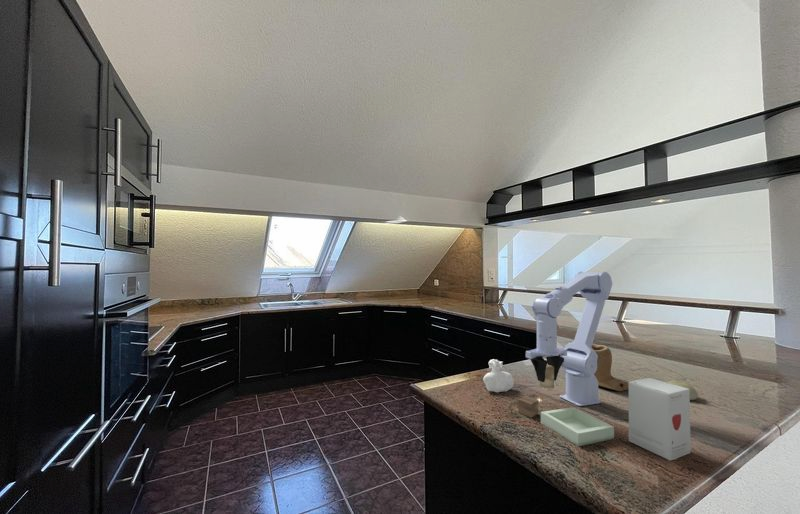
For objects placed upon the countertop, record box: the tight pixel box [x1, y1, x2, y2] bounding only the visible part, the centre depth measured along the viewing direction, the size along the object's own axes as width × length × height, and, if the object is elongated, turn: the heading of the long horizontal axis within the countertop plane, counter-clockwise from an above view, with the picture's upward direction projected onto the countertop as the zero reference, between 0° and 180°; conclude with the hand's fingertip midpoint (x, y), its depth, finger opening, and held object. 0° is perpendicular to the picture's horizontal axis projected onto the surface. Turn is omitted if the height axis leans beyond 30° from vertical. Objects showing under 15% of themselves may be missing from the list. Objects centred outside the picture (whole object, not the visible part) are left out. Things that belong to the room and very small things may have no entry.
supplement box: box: [628, 377, 692, 461], centre depth 75 cm, size 9×9×15 cm
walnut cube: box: [517, 395, 539, 419], centre depth 91 cm, size 4×4×4 cm
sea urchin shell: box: [665, 380, 699, 401], centre depth 107 cm, size 9×8×8 cm
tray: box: [540, 406, 615, 447], centre depth 82 cm, size 12×12×3 cm
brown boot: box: [591, 344, 629, 392], centre depth 116 cm, size 15×12×15 cm
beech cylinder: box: [539, 364, 555, 389], centre depth 95 cm, size 4×4×6 cm
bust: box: [483, 358, 514, 393], centre depth 111 cm, size 12×8×11 cm
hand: (546, 380), depth 95 cm, fingers closed on beech cylinder, 4 cm apart
